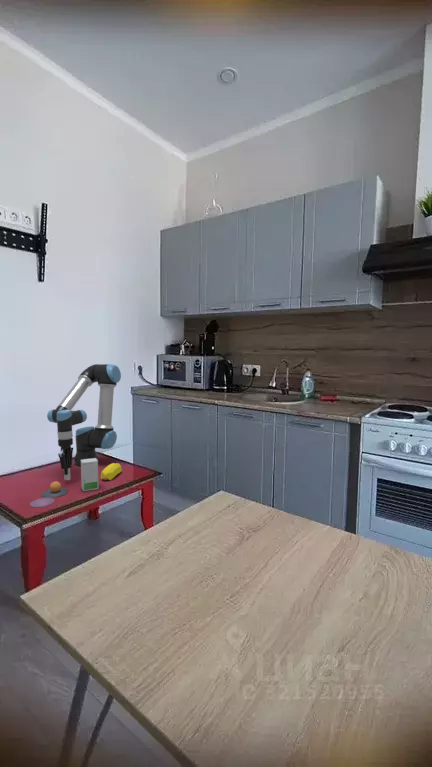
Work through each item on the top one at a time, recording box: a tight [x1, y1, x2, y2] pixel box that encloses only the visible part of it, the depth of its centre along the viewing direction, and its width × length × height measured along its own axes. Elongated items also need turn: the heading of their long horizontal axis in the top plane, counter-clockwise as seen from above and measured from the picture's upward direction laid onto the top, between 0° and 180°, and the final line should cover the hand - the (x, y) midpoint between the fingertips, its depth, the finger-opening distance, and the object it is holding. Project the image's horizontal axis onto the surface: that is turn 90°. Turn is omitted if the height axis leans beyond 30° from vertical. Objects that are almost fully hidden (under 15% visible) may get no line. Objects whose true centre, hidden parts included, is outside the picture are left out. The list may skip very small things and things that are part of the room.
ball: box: [49, 480, 62, 492], centre depth 194 cm, size 6×6×6 cm
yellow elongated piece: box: [100, 462, 123, 481], centre depth 217 cm, size 18×7×8 cm
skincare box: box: [80, 458, 99, 492], centre depth 198 cm, size 8×7×16 cm
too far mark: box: [29, 497, 55, 508], centre depth 181 cm, size 11×11×1 cm
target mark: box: [40, 487, 69, 499], centre depth 193 cm, size 13×13×1 cm
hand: (67, 479), depth 206 cm, fingers closed
